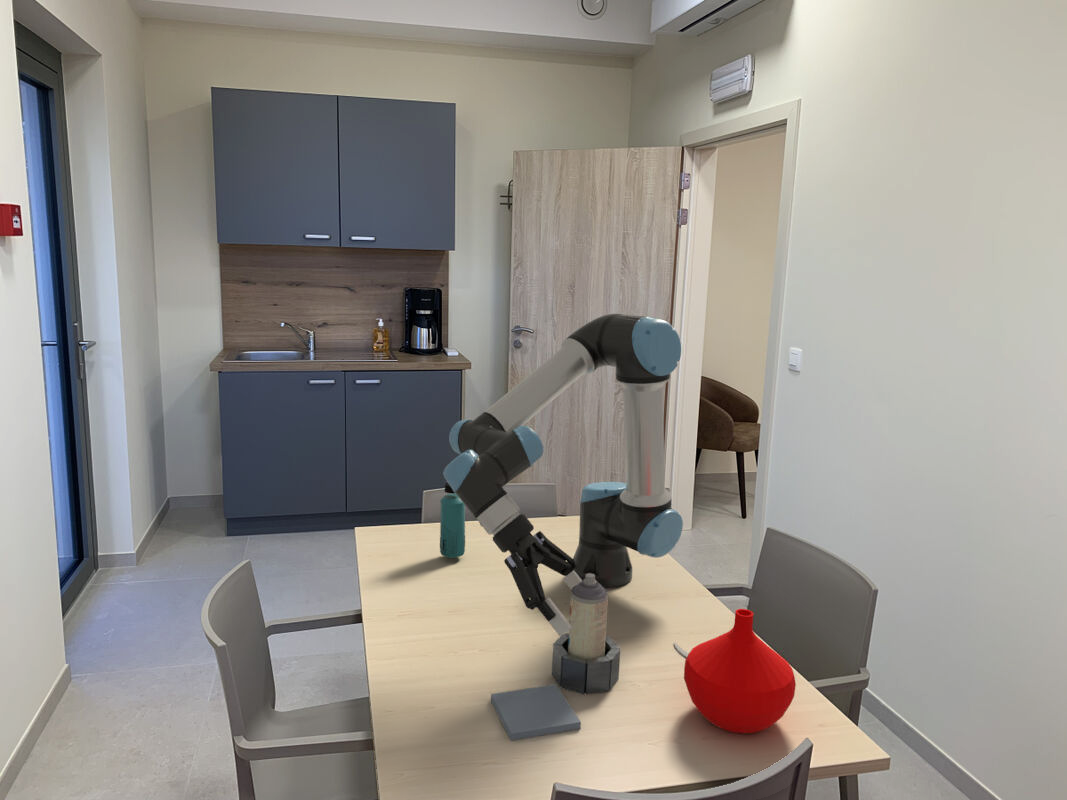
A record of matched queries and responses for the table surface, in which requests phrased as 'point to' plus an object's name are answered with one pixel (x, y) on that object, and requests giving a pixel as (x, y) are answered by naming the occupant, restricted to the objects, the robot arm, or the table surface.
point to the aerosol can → (588, 619)
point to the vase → (739, 679)
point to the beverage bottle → (452, 524)
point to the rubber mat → (535, 712)
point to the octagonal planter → (585, 668)
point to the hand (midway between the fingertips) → (578, 616)
